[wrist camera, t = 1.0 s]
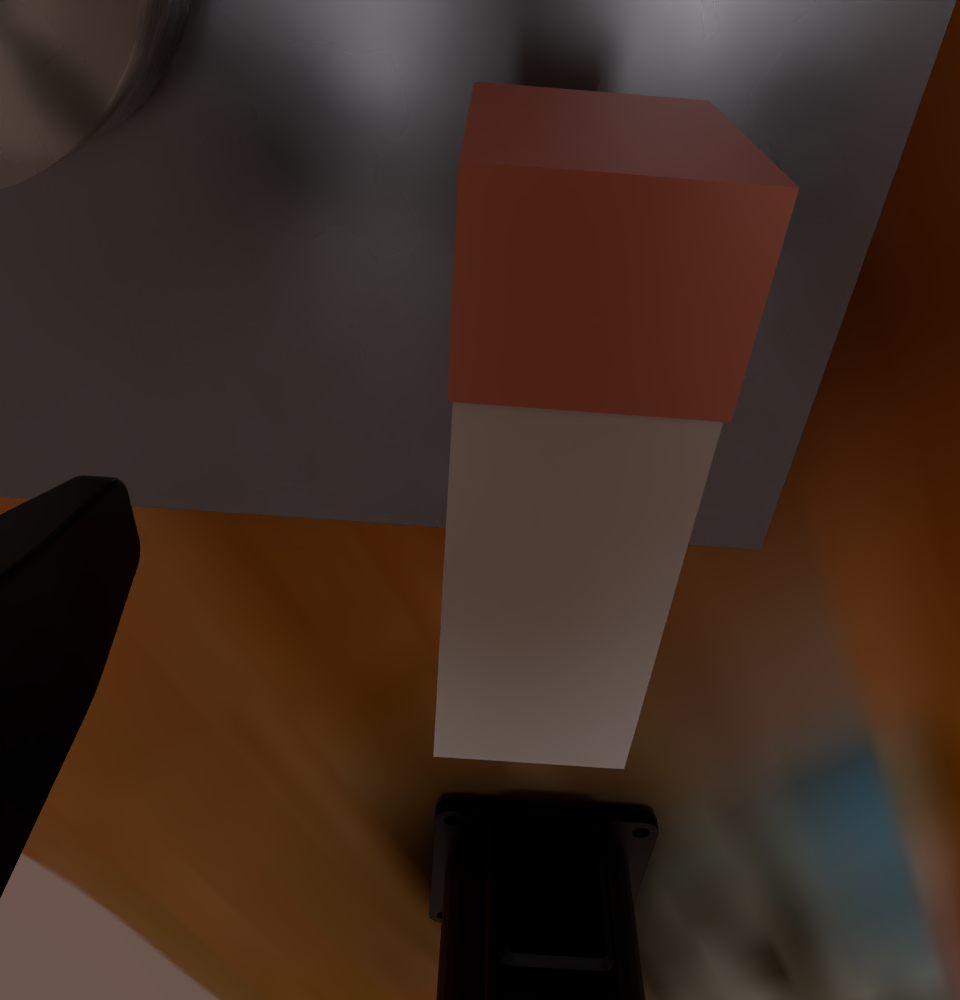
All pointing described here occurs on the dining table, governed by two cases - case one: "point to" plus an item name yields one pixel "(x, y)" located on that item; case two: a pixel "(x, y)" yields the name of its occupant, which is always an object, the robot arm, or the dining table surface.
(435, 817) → the robot arm
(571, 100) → the red and white block
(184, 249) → the grey board
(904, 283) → the dining table surface
